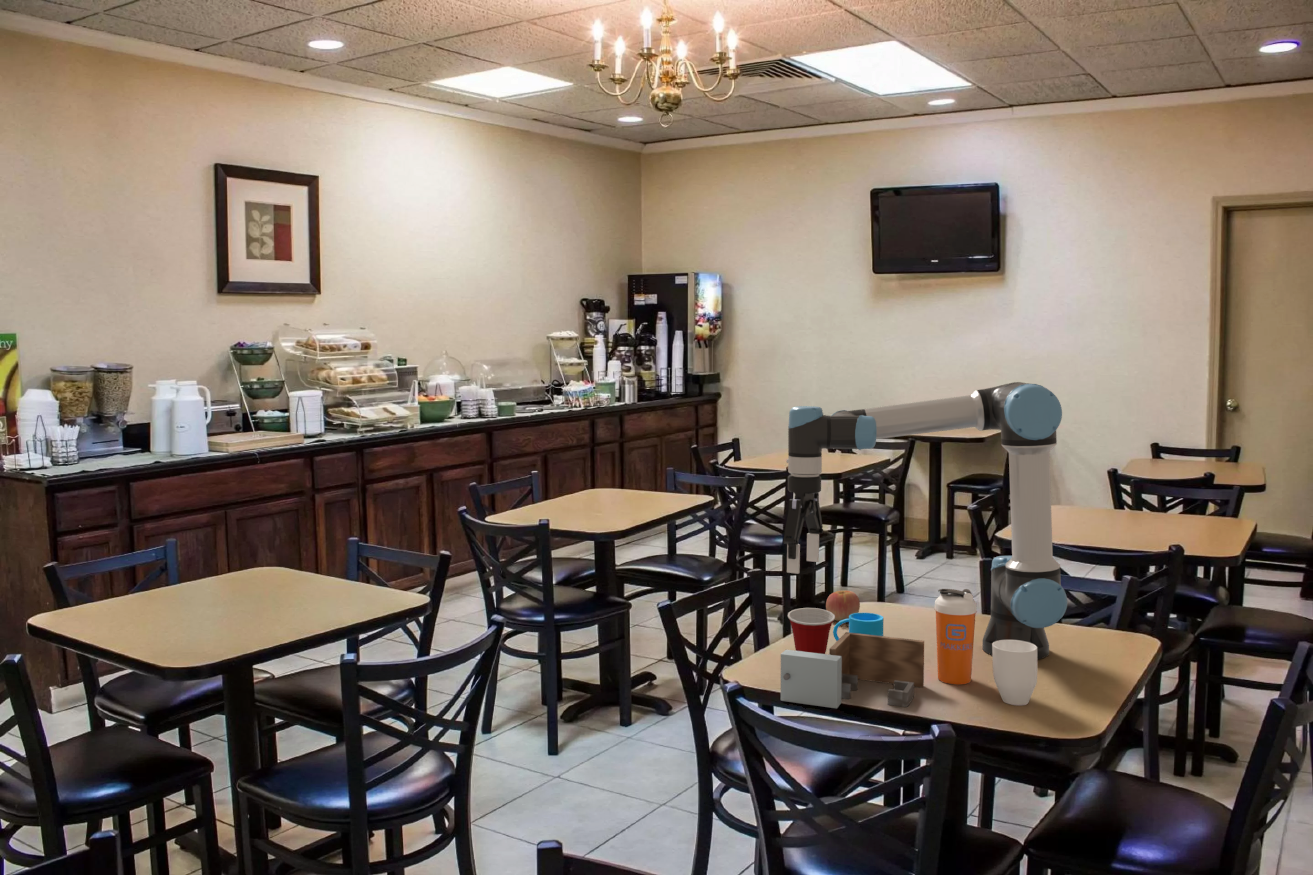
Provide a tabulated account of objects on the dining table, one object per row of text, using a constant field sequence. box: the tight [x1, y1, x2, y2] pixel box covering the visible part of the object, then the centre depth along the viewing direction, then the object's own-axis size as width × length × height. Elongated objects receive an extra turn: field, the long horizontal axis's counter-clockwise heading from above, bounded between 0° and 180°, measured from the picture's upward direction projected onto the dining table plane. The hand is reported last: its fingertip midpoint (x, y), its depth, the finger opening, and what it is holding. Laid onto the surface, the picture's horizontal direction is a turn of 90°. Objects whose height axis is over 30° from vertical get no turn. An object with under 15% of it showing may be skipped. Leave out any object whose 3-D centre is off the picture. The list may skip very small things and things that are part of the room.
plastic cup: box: [787, 607, 835, 654], centre depth 244 cm, size 11×11×12 cm
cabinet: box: [828, 631, 925, 708], centre depth 225 cm, size 17×15×10 cm
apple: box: [825, 590, 861, 622], centre depth 281 cm, size 9×9×8 cm
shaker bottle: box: [934, 588, 978, 685], centre depth 232 cm, size 9×9×20 cm
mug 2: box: [991, 640, 1038, 706], centre depth 220 cm, size 12×9×12 cm
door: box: [780, 649, 842, 709], centre depth 219 cm, size 12×4×10 cm, turn 65°
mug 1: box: [832, 612, 884, 642], centre depth 256 cm, size 12×8×8 cm
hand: (803, 566), depth 241 cm, fingers open, 13 cm apart
